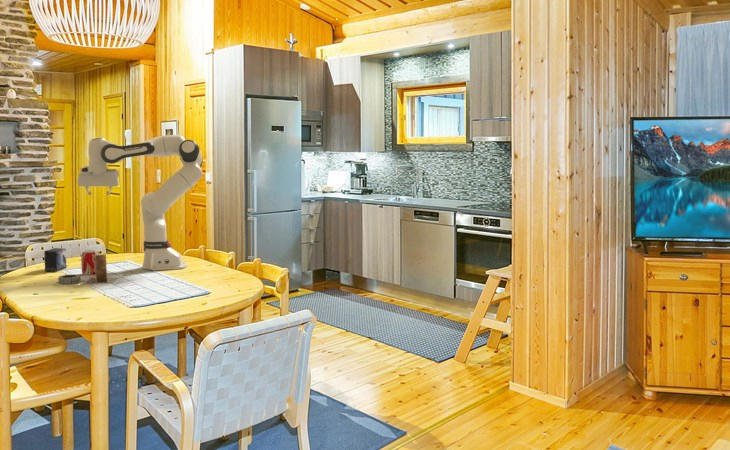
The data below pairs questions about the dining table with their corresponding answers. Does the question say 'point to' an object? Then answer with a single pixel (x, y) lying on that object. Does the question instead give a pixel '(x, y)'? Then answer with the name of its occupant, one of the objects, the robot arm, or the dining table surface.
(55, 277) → the dining table surface
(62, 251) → the small box
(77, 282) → the ring stand
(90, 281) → the pad
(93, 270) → the soda can
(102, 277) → the peg
